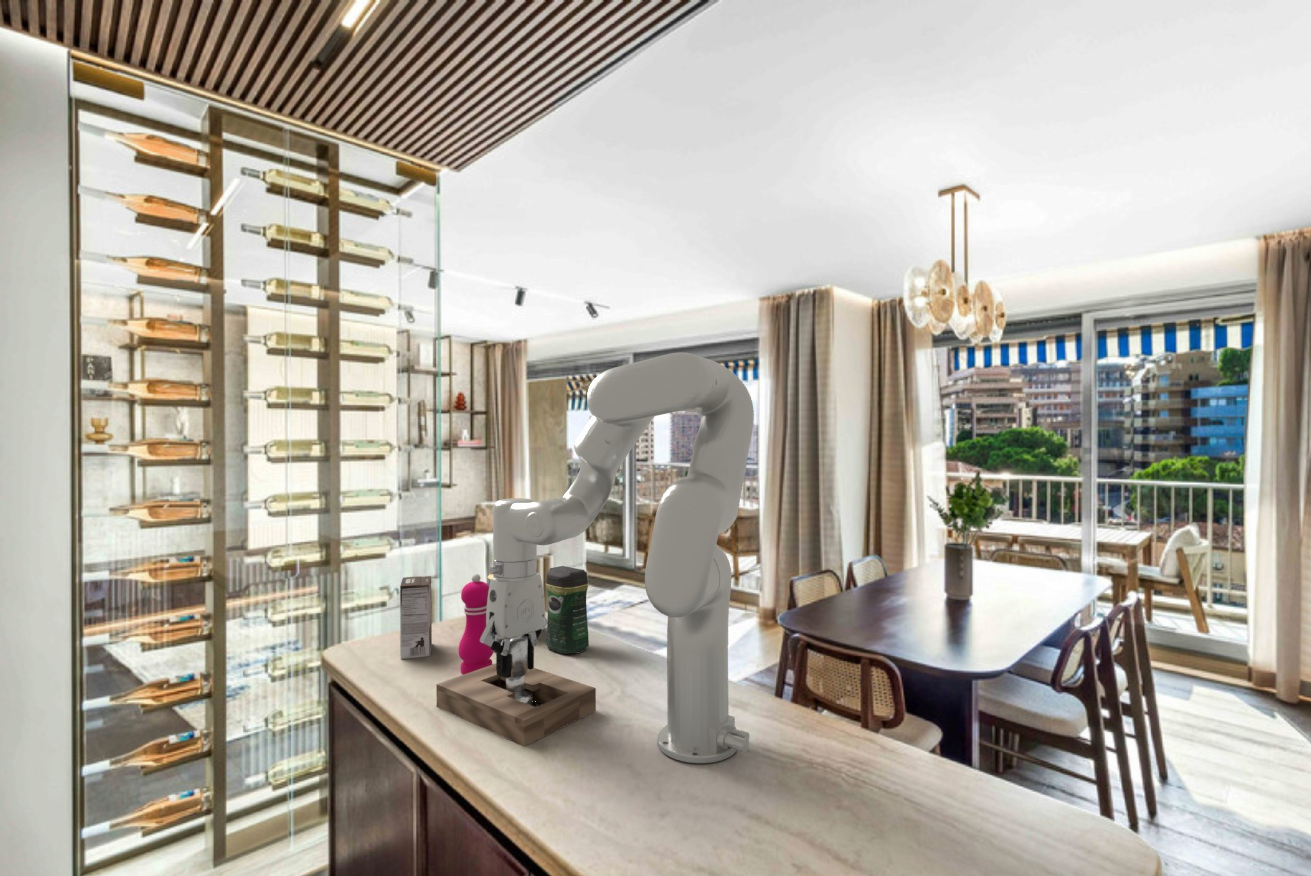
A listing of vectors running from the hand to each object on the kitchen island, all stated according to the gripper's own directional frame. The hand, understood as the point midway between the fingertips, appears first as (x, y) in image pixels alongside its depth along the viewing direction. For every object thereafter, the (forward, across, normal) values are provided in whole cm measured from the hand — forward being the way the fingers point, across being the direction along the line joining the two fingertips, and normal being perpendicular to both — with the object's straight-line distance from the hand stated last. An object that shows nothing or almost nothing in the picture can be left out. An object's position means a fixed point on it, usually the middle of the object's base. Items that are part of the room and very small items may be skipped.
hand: (515, 670), depth 111 cm
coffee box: (+7, +6, +42) cm, 43 cm away
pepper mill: (+7, +7, +21) cm, 23 cm away
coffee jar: (+7, +28, +16) cm, 33 cm away
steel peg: (+6, 0, 0) cm, 6 cm away
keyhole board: (+7, 0, 0) cm, 7 cm away
